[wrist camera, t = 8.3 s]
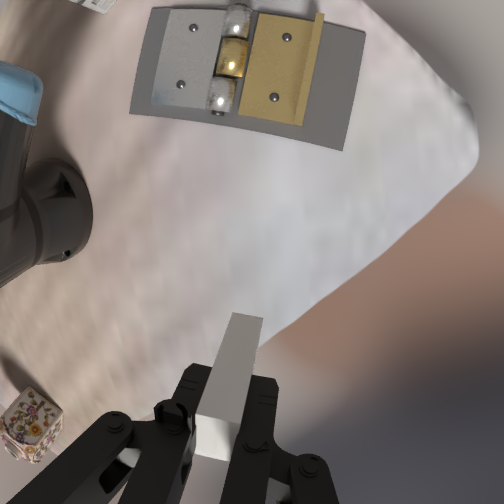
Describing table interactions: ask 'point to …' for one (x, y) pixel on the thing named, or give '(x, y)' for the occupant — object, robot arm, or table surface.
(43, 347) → the table surface
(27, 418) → the decorative jar
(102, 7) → the ink box
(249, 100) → the loose leaf
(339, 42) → the grey two-tone fixture
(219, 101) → the fixed leaf
